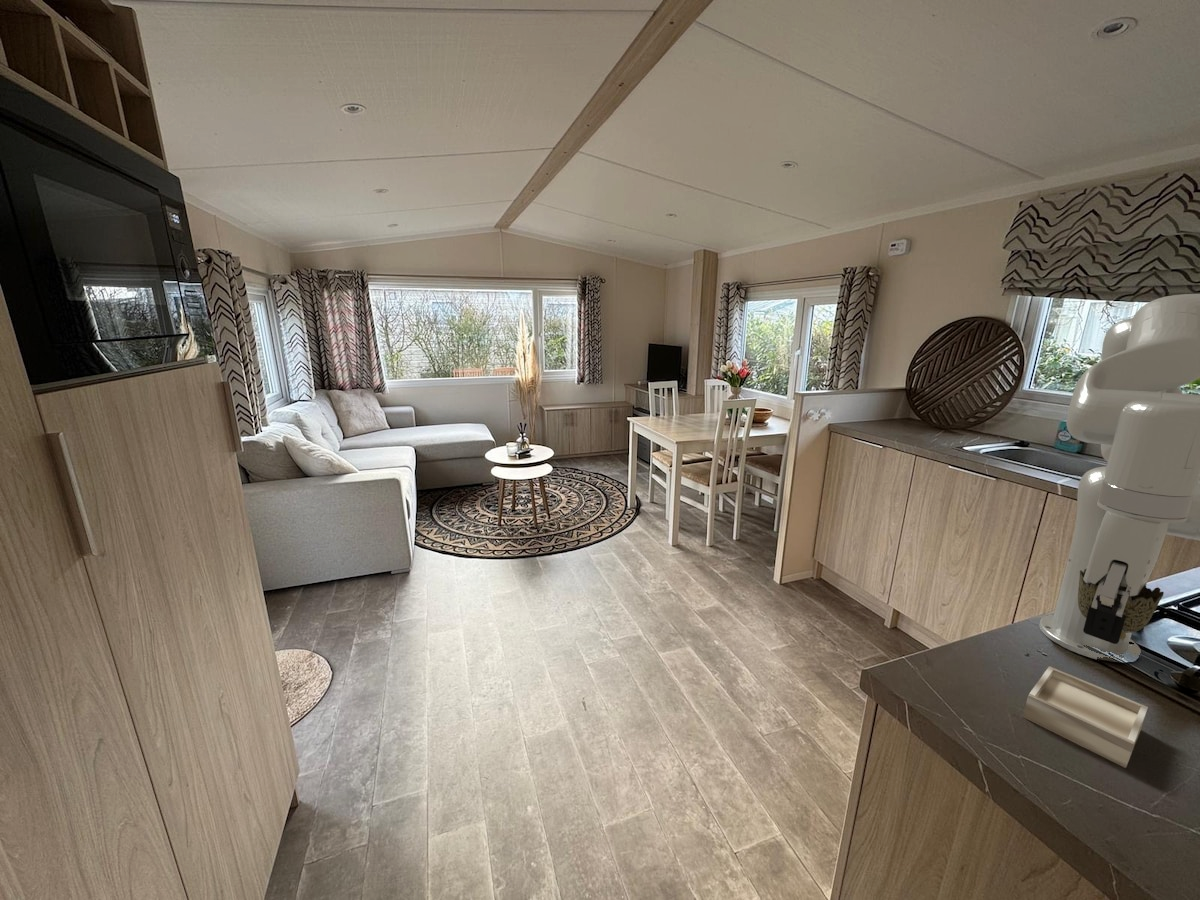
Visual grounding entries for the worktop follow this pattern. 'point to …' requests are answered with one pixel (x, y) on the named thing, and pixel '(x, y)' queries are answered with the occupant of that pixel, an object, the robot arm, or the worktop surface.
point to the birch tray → (1086, 715)
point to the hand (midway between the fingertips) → (1107, 626)
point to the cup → (1136, 608)
